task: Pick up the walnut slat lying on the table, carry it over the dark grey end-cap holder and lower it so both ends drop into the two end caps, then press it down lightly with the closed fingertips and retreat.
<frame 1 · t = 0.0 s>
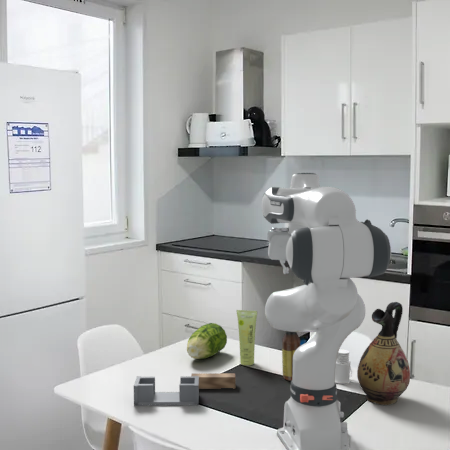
hand: (301, 273, 181), 39 cm above the table, tool pointing down, fingers open, 8 cm apart
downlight: (340, 380, 202), on the table
lettuce: (204, 358, 225), on the table
ceramic jug: (384, 399, 186), on the table
slat: (213, 387, 196), on the table
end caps: (167, 400, 185), on the table
sauce bottle: (291, 379, 204), on the table
tube: (246, 364, 218), on the table
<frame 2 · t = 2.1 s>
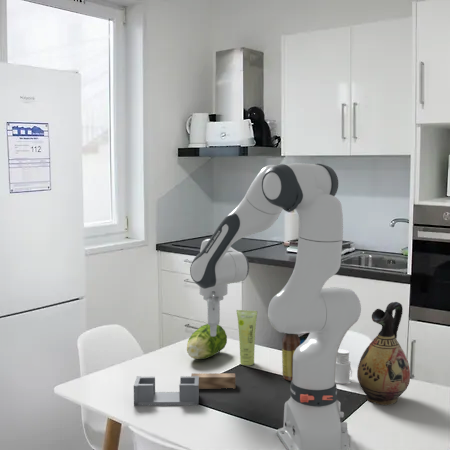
hand: (213, 331, 194), 18 cm above the table, tool pointing down, fingers open, 8 cm apart
nothing on the table moved.
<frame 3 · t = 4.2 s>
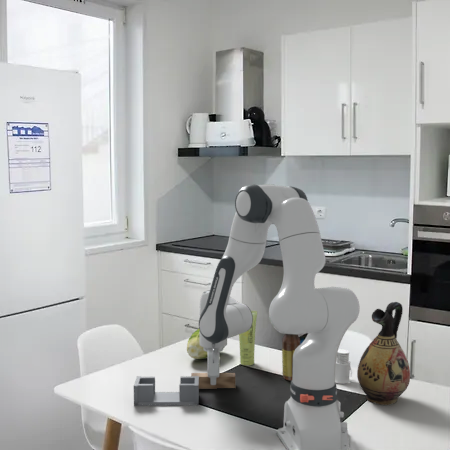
hand: (213, 381, 196), 2 cm above the table, tool pointing down, fingers closed on slat, 3 cm apart
slat: (213, 386, 196), on the table, touching gripper
everything else where it was.
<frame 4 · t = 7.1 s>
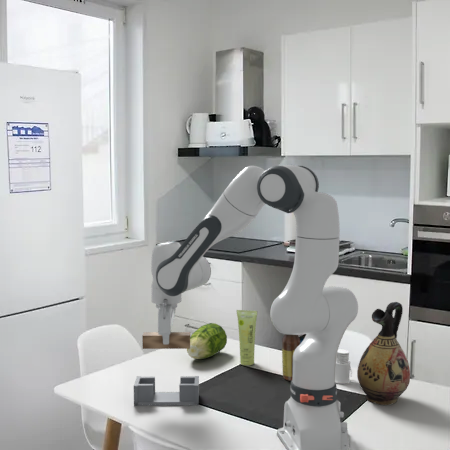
hand: (166, 341, 183), 18 cm above the table, tool pointing down, fingers closed on slat, 3 cm apart
slat: (166, 346, 183), point 16 cm above the table, touching gripper
everything else where it was.
when the fingers open (4 cm above the table, at t = 9.8 s): slat drops 1 cm, resting on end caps.
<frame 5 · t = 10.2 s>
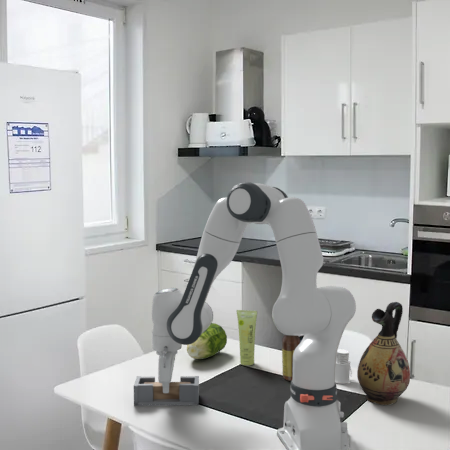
hand: (167, 386, 184), 4 cm above the table, tool pointing down, fingers open, 7 cm apart
slat: (167, 396, 185), point 1 cm above the table, touching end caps
everything else where it was.
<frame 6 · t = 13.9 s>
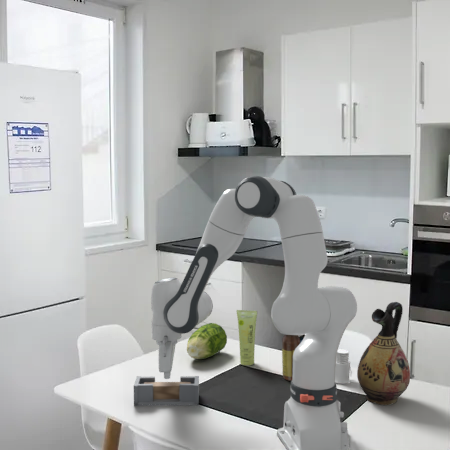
hand: (167, 377, 183), 7 cm above the table, tool pointing down, fingers closed
nothing on the table moved.
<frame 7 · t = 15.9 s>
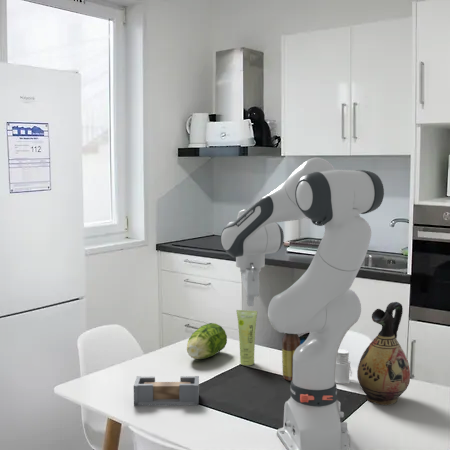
hand: (250, 305, 189), 28 cm above the table, tool pointing down, fingers closed
nothing on the table moved.
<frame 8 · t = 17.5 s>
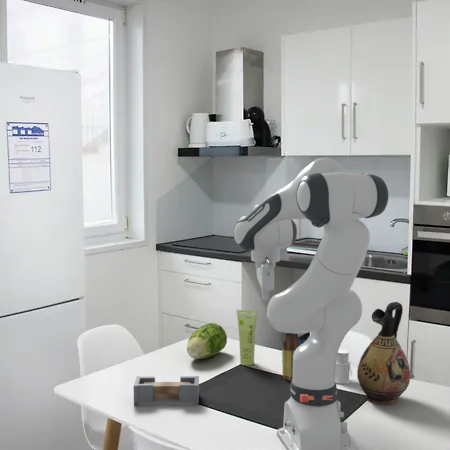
hand: (264, 299, 190), 29 cm above the table, tool pointing down, fingers closed
nothing on the table moved.
at the end: slat 0.0 cm off-centre on the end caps, point 1.0 cm above the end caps's base; slat tilted 0°; the gripper is holding nothing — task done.
